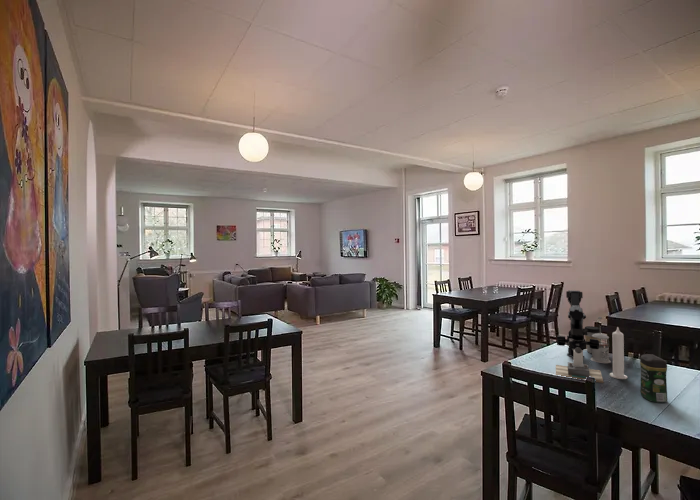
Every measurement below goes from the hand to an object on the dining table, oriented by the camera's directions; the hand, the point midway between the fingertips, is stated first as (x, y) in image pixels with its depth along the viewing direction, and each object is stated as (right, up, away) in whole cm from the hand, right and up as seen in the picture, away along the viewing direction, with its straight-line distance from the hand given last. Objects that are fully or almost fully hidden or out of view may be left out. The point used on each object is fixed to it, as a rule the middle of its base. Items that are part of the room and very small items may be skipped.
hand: (578, 356), depth 185 cm
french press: (+27, -8, +22) cm, 36 cm away
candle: (+18, -9, -3) cm, 21 cm away
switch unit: (+1, -9, +1) cm, 9 cm away
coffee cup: (+32, -8, +36) cm, 49 cm away
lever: (+1, -5, +1) cm, 5 cm away
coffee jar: (+14, -10, -29) cm, 34 cm away
